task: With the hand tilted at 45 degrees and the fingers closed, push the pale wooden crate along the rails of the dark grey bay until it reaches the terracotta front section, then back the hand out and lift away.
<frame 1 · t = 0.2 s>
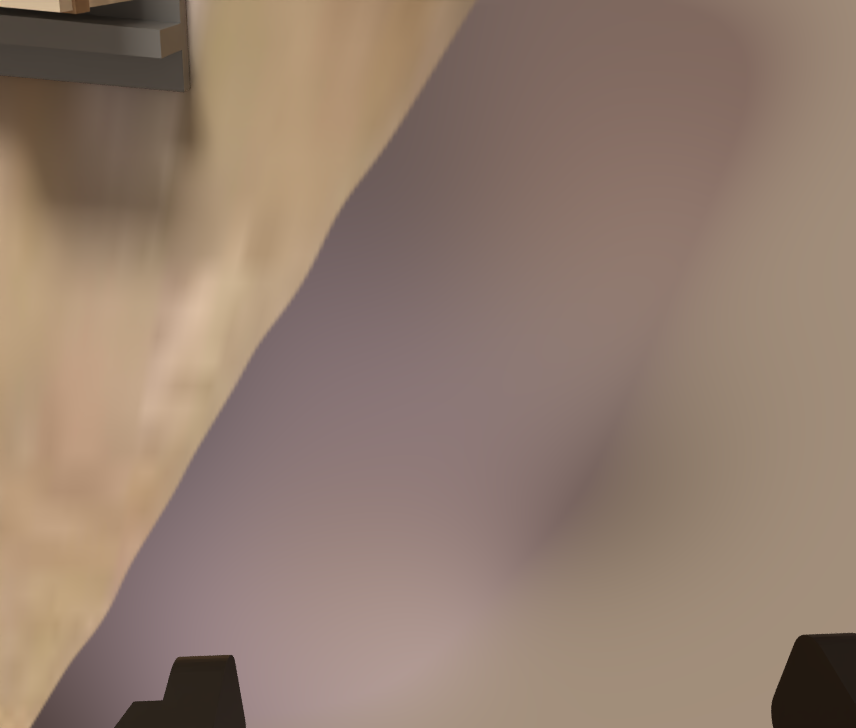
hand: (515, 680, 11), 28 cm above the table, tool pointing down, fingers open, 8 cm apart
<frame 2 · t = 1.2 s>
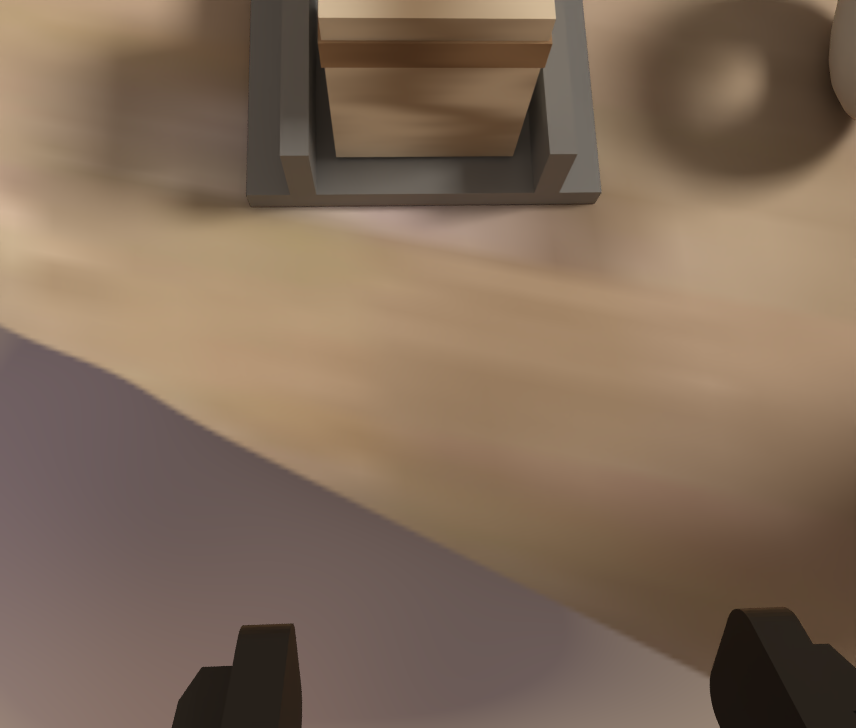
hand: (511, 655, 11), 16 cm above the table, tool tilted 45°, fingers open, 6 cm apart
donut: (848, 78, 34), on the table
crate: (427, 10, 27), point 5 cm above the table, slide at 0.0 cm
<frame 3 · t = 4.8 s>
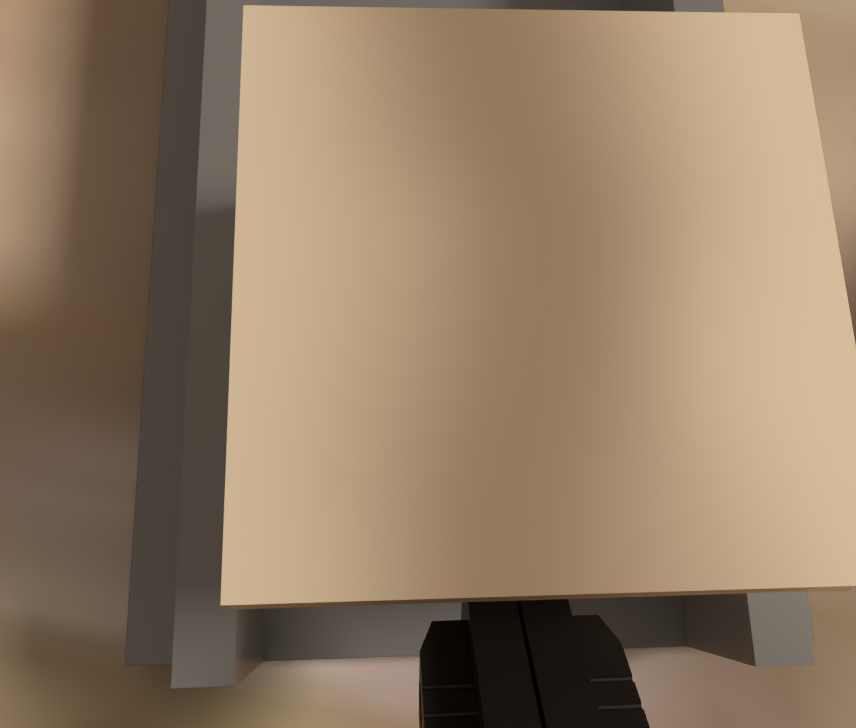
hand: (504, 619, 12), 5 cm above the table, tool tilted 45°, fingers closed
bay: (452, 110, 19), on the table
crate: (495, 360, 12), point 5 cm above the table, slide at 0.0 cm, touching gripper
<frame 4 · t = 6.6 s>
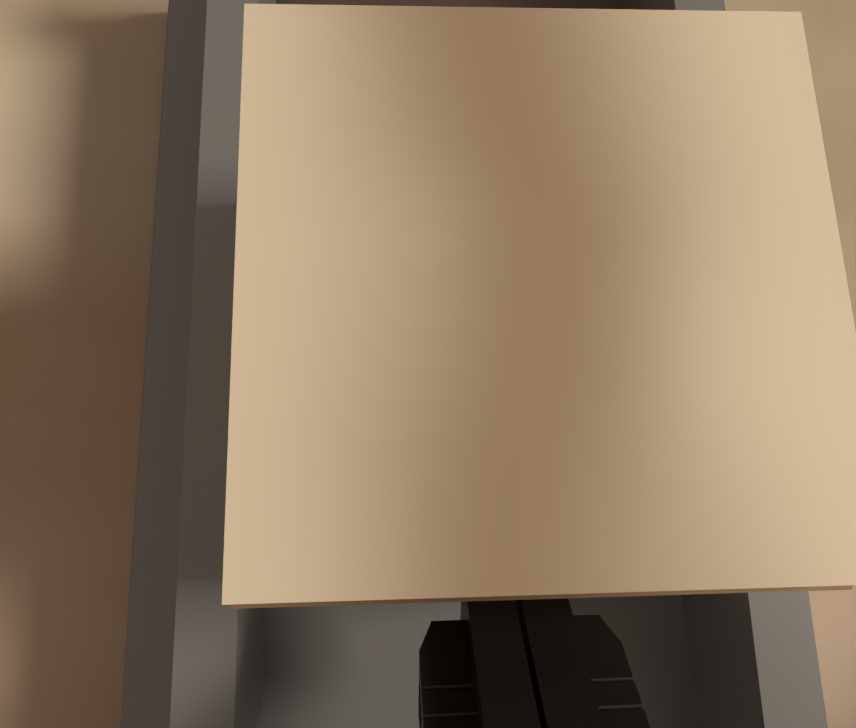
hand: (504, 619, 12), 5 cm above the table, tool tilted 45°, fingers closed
bay: (468, 513, 17), on the table
crate: (496, 360, 12), point 5 cm above the table, slide at 10.2 cm, touching gripper
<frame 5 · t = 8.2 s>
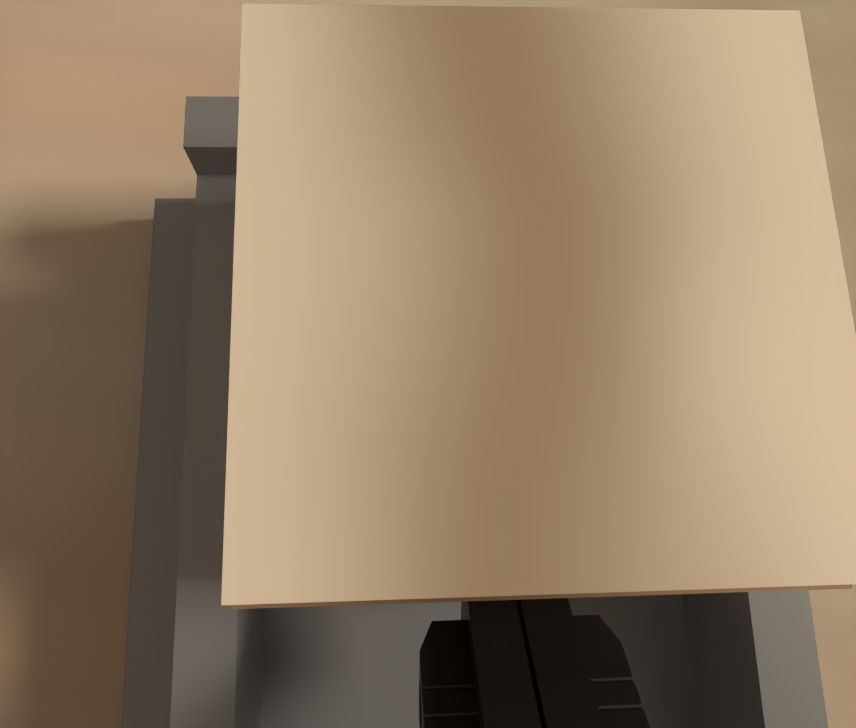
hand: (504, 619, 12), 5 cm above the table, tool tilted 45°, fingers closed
crate: (496, 359, 12), point 5 cm above the table, slide at 16.0 cm, touching gripper
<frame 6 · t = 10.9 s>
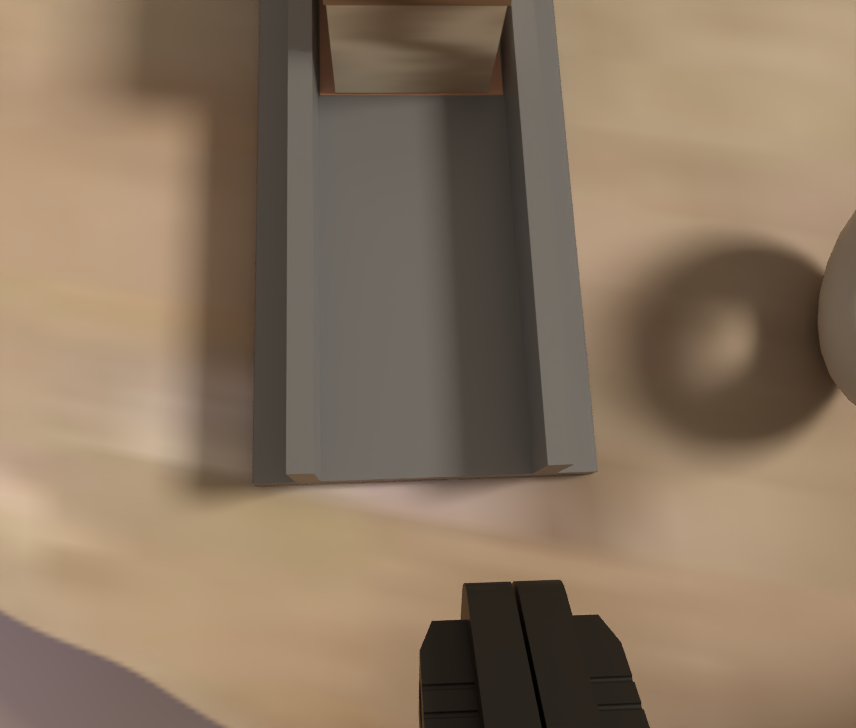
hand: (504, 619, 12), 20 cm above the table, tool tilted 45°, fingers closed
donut: (837, 332, 35), on the table
bay: (414, 194, 35), on the table
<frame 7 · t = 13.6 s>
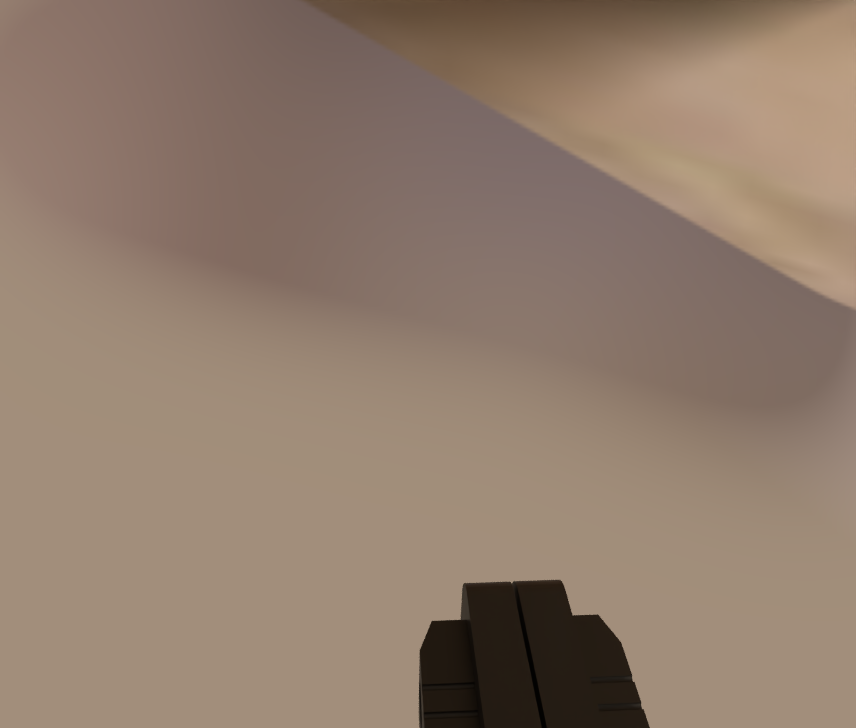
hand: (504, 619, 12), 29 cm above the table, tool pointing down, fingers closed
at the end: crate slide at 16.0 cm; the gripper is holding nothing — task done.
